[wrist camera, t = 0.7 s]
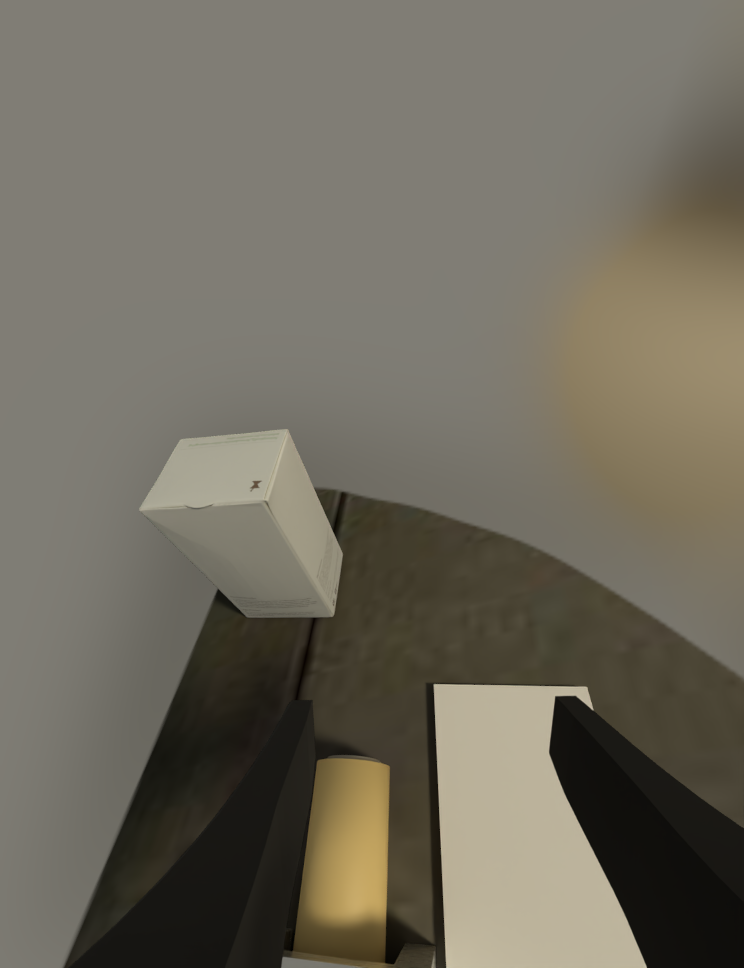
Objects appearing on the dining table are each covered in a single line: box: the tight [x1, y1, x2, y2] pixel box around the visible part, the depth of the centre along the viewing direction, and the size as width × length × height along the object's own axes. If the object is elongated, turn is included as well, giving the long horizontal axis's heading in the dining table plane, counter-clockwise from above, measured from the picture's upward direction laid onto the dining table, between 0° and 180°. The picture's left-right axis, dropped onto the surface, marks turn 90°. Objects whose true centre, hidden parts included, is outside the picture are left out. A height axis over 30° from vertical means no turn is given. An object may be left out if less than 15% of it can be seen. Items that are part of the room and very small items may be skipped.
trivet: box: [434, 684, 647, 968], centre depth 22 cm, size 14×10×1 cm
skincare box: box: [139, 429, 343, 618], centre depth 29 cm, size 8×7×16 cm
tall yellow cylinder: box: [293, 755, 390, 963], centre depth 20 cm, size 10×4×4 cm, turn 177°
